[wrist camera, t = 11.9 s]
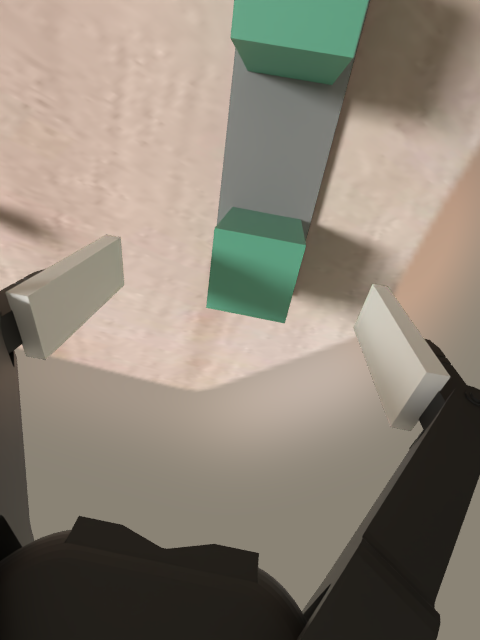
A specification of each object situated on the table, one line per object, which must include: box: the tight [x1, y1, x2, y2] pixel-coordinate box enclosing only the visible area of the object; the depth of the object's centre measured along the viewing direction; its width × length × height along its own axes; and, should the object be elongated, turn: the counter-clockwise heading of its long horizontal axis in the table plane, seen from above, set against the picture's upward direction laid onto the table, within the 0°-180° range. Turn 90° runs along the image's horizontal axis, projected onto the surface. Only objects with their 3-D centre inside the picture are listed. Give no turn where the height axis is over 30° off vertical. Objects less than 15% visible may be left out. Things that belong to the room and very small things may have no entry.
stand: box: [217, 0, 370, 241], centre depth 18 cm, size 7×20×7 cm, turn 172°
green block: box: [206, 207, 306, 323], centre depth 21 cm, size 5×5×7 cm
